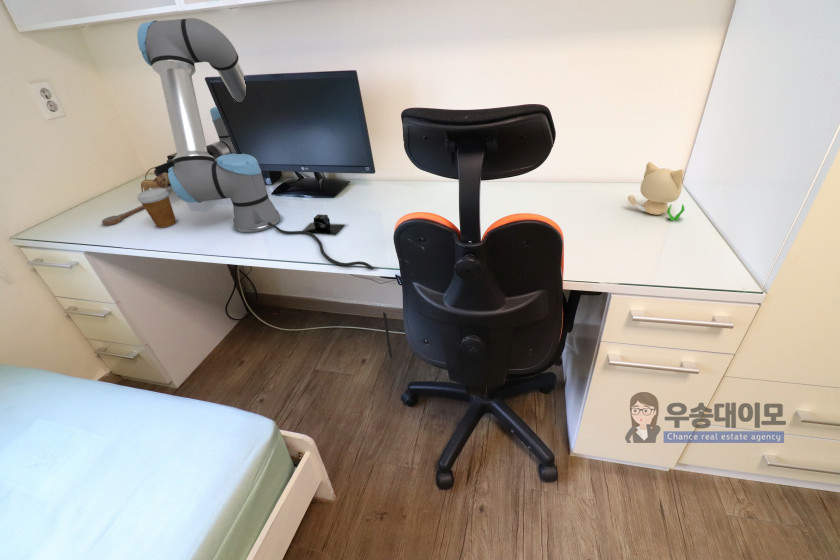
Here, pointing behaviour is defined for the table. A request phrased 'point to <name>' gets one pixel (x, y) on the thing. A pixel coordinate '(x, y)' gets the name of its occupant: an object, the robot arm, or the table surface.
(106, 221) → the spoon
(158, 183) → the lion figurine
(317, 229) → the build plate
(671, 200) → the kitten
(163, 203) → the disposable coffee cup
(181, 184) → the robot arm
